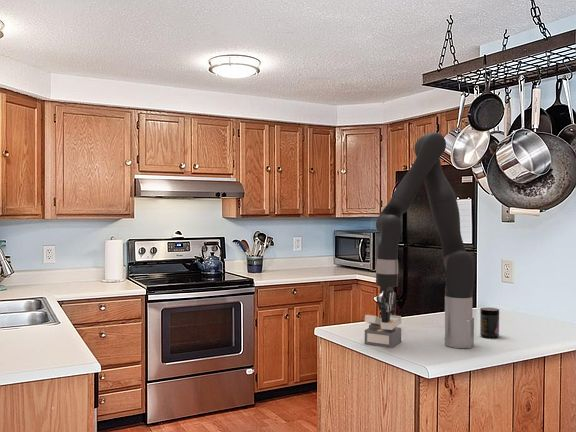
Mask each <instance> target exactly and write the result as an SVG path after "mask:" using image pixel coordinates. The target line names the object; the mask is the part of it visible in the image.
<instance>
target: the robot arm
mask: <svg viewBox="0 0 576 432" xmlns="http://www.w3.org/2000/svg"><path fill="white" fill-rule="evenodd" d="M446 148H447V141H446V139H445V137H444V136H443V135H442V134H441V133H439V132H434V131H433V132H428V133H426V134H424V135H422V136H421V137H419V138H418V139H417V140H416V142H415V144H414V154H415V160H414V162H413V164H412V165H411V167H410V168H409V169H408V171H407V172H406V174H405V175H404V177H402V179H401V181H400V182H399V184H398V185H397V187H396V188H395V190H394V191H393V194H392V195H391V198H390V200H389V202H387V205H385V207H384V208H383V209H382V210H381V212H380V213H379V215H378V216H377V219H376V221H375V228H376V231H377V232H378V233H380V234H381V237H380V238H381V239H380V242H379V243H378V244H377V252H376V253H377V254H376V256H377V257H376V267H375V270H376V271H375V285H376V286H377V287H379V288H380V289H379V293H378V294H379V295H376V302H377V306H378V310H379V311H380V312H381V311H382V322H383V323H388V322H389V321H390V311H391V309H393V305H394V301H395V297H396V298H397V292H395V291H394V288H395V287H398V286H399V260H398V259H399V258H398V257H399V244H400V241H401V236H402V229H403V228H402V227H403V226H402V222H401V219H400V218H401V217H402V215H403V214H405V213H407V212H408V210H409V209H410V207H411V205H412V204H413V202H414V200H415V197H416V196H417V194H418V192H419V190H420V189H421V186H422V185H423V183H424V185H425V191H426V194H427V198H428V199H427V200H428V203H429V206H430V207H429V208H430V211H431V215H432V219H433V223H434V225H435V227H436V230H437V233H438V235H439V239H440V243H441V249H442V258H443V265H444V268H445V271H446V275H445V288H444V345H445V346H446V347H449V348H454V349H455V348H456V349H472V348H473V346H474V345H475V318H474V317H473V293H474V286H475V262H474V259H473V257H472V256H471V254H469V253H468V252H467V250H466V247H465V245H464V241H463V238H462V234H461V217H460V215H461V214H460V210H459V205H458V200H457V197H456V194H455V191H454V189H453V187H452V185H451V183H450V182H449V181H448V179H447V177H446V175H445V173H444V171H443V167H442V164H441V163H442V162H441V156H443V154H444V153H445V151H446ZM394 292H395V293H394ZM383 306H384V307H383Z"/></svg>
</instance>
